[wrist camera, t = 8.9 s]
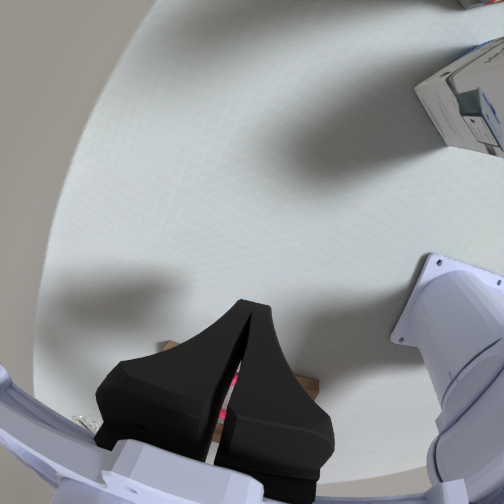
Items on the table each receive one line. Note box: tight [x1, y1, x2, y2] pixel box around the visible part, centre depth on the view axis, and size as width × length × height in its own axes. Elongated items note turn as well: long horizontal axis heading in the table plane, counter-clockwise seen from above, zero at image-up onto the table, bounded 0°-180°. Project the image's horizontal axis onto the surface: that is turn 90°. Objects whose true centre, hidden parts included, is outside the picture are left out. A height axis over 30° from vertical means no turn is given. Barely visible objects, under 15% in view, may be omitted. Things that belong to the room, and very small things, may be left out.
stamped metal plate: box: [72, 416, 102, 434], centre depth 37 cm, size 8×7×2 cm
